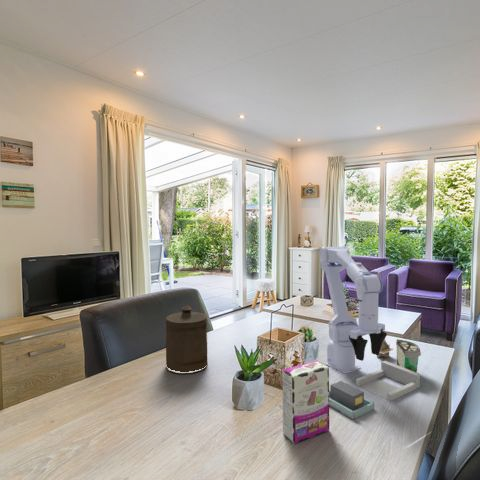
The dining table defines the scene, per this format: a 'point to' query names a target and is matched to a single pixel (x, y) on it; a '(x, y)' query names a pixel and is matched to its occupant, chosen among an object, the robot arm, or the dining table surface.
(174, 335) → the wooden container
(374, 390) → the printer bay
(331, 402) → the tray
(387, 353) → the architectural model
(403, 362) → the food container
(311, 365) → the candy bar box
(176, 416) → the dining table surface
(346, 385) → the grey rectangular block
